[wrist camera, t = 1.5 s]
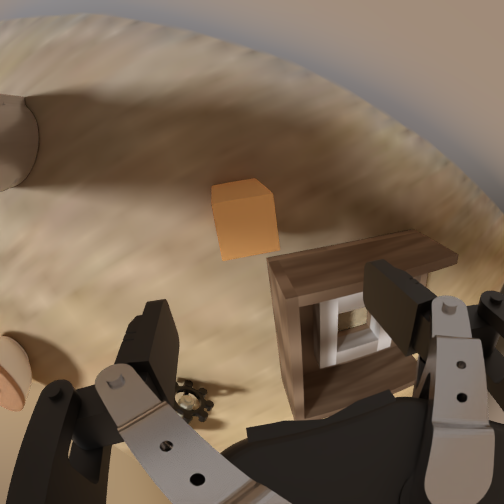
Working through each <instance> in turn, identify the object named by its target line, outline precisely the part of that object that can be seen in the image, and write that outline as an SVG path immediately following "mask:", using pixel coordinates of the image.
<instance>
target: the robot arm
mask: <svg viewBox="0 0 504 504" xmlns="http://www.w3.org/2000/svg"><path fill="white" fill-rule="evenodd" d="M38 144H39V134H38V126H37V123H36V120H35V117H34V115H33V114H32V112H31V111H30V110H29V109H28V108H27V107H26V105H25V100H24V97H21V96H13V95H5V94H0V192H1V191H5V190H7V189H9V188H11V187H14V186H16V185H18V184H20V183H21V182H22V181H23V180H24V179H25V178H26V177H27V175H28V174H29V172H30V171H31V169H32V167H33V164H34V162H35V159H36V155H37V150H38ZM363 301H364V305H365V307H366V309H367V310H368V312H369V313H370V314H371V315H372V316H373V317H374V319H375V320H376V321H377V322H378V323H379V325H380V326H381V327H382V328H383V329H384V331H385V332H386V333H387V334H388V335H389V337H390V338H391V339H392V340H393V342H394V343H395V344H396V345H397V346H398V348H399V349H400V350H401V351H402V353H403V354H404V355H405V356H406V357H407V356H410V355H412V354H415V353H418V354H419V357H418V360H417V366H416V375H415V382H414V389H413V396H412V397H396V398H395V397H394V396H393V394H392V393H391V391H390V390H389V389H388V390H385V391H383V392H380V393H377V394H375V395H372V396H369V397H366V398H363V399H360V400H358V401H356V402H354V403H353V404H351V405H349V406H348V407H346V408H344V409H342V410H341V411H339V412H337V413H335V414H333V415H332V416H330V417H328V418H325V419H317V420H295V421H281V422H276V423H271V424H266V425H260V426H254V427H248V428H246V430H247V437H248V438H246V439H244V440H241V441H239V442H237V443H235V444H233V445H232V446H230V447H228V448H227V449H225V450H224V451H223V452H221V453H219V452H218V451H216V450H215V449H214V448H213V447H212V446H211V445H210V444H209V443H208V442H206V441H205V440H204V439H203V438H202V437H201V436H200V435H199V434H198V433H197V432H196V431H195V430H194V429H193V428H192V427H191V426H190V425H189V424H187V423H186V422H185V421H184V420H183V419H182V418H181V416H180V415H179V414H178V413H177V412H176V411H175V410H174V409H173V407H174V395H175V384H176V373H177V364H178V355H179V336H178V332H177V329H176V326H175V323H174V320H173V317H172V314H171V311H170V308H169V305H168V302H167V300H166V299H162V300H156V301H149V302H147V303H146V305H145V308H144V311H143V314H142V315H139V316H136V317H135V318H134V319H133V320H132V321H131V322H130V323H129V325H128V328H127V331H126V334H125V336H124V338H123V342H122V344H121V347H120V349H119V352H118V355H117V358H116V361H115V363H114V365H111V366H109V367H107V368H105V369H104V370H102V371H101V372H100V373H99V374H98V376H97V378H96V380H95V385H92V386H88V387H84V388H81V389H77V390H75V388H74V387H73V386H72V384H71V383H70V382H69V381H67V380H56V381H54V382H52V383H50V384H48V385H47V386H46V387H45V388H44V389H43V390H42V392H41V394H40V396H39V399H38V401H37V404H36V406H35V409H34V411H33V414H32V416H31V419H30V421H29V424H28V427H27V430H26V433H25V435H24V438H23V441H22V444H21V447H20V450H19V454H18V457H17V460H16V464H15V467H14V471H13V475H12V478H11V483H10V487H9V491H8V496H7V500H6V504H106V495H107V482H108V472H109V463H110V455H111V447H112V445H113V444H117V443H121V442H124V441H125V443H126V444H127V446H128V447H129V448H130V450H131V451H132V453H133V454H134V456H135V457H136V459H137V460H138V461H139V463H140V464H141V465H142V467H143V468H144V469H145V471H146V472H147V473H148V475H149V476H150V477H151V479H152V480H153V481H154V482H155V484H156V485H157V486H158V487H159V488H160V490H161V491H162V492H163V493H164V495H165V496H166V497H167V498H168V499H169V500H170V501H171V502H172V504H504V424H501V423H497V422H494V421H490V420H488V397H487V390H488V391H489V392H490V394H491V395H492V396H493V398H494V399H495V400H496V402H497V403H498V404H499V406H500V407H501V408H502V410H503V411H504V357H503V355H502V354H501V353H500V352H499V351H498V350H497V349H496V348H495V346H496V343H497V341H498V339H499V336H500V335H501V336H502V337H503V338H504V295H503V294H502V293H499V292H496V291H486V292H484V293H482V295H481V297H480V301H479V305H471V306H466V305H465V303H464V302H463V301H462V300H460V299H458V298H456V297H453V296H439V297H437V296H436V295H435V294H434V293H432V292H431V291H430V290H429V289H427V288H426V287H425V286H424V285H422V284H421V283H419V281H417V280H416V279H415V278H414V279H413V277H412V276H411V275H410V274H408V273H407V272H406V271H403V270H401V269H398V268H396V267H394V266H392V265H391V264H390V263H388V262H387V261H386V260H384V259H379V260H374V261H370V262H366V264H365V266H364V283H363ZM71 439H72V440H73V443H72V447H71V452H70V456H69V458H68V451H69V446H70V443H71Z"/></svg>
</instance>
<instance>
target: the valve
mask: <svg viewBox="0 0 504 504" xmlns="http://www.w3.org/2000/svg"><path fill="white" fill-rule="evenodd" d="M192 386H193V383H192V382H191V381H188V380H186V381H185V382H184V385H183V386H179V385H178V383H177V382H176V384H175V395H176V394H177V393H179V392H184V394H183V396H182V397H181V399H179V401H178V403H177V402H176V401H175V395H174V407H173V409H174V410H175V411H176V412H177V413H178V414H179V415H180V416H181V418H182V419H183V420H184V421H185V422H186V423H187V424H189V423H190V422H191V420H192V418H193V417H192V416H198V417H199V421H201V422H204V421H206V419H207V417H208V413H207V412H205V411H204V408H207V411H211V409H212V408H213V406H214V403H213V402H212V401H209V400H208V401H206V400H205V399H204V398H205V396H206V394H207V390H206V389H204V388H200V389H199V390H195V389H193V388H192ZM189 393H191V394H193V395H194V396H195V397H196V398H197V399H198V400H199V403H200V407H199V408H198V409H196V410H192V409H193V407H194V399H193V398H192V397H191V396H189V395H188V394H189Z"/></svg>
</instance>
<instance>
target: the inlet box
mask: <svg viewBox="0 0 504 504" xmlns="http://www.w3.org/2000/svg"><path fill="white" fill-rule="evenodd" d="M379 259H384V260H386V261H387V262H388V263H390V264H391V265H392V266H394V267H396V268H398V269H401V270H403V271H406V272H407V273H408V274H410V275H411V276H412V277H413V279H414V278H415V279H416V280H417V281H419V283H421V284H422V285H424V286H425V287H426V281H427V275H428V273H430V272H433V271H436V270H439V269H442V268H445V267H448V266H451V265H454V264H457V260H458V254H457V253H455V252H453V251H452V250H450V249H448V248H446V247H445V246H443V245H441V244H440V243H438V242H436V241H434V240H432V239H431V238H429V237H427V236H425V235H424V234H422V233H420V232H418V231H416V230H414V229H412V230H407V231H402V232H397V233H392V234H387V235H382V236H377V237H372V238H367V239H362V240H357V241H352V242H347V243H342V244H337V245H331V246H326V247H321V248H316V249H311V250H306V251H300V252H295V253H290V254H285V255H280V256H274V257H269V258H267V266H268V273H269V281H270V288H271V296H272V304H273V311H274V319H275V327H276V335H277V343H278V351H279V359H280V367H281V375H282V381H283V384H284V388H285V391H286V394H287V397H288V401H289V404H290V407H291V411H292V414H293V417H294V420H317V419H323V418H326V417H330V416H332V415H333V414H335V413H337V412H339V411H341V410H342V409H344V408H346V407H348V406H349V405H351V404H353V403H354V402H356V401H358V400H360V399H363V398H366V397H369V396H372V395H375V394H377V393H380V392H383V391H385V390H388V389H389V390H390V391H391V393H392V394H394V393H396V392H399V391H401V390H403V389H406V388H408V387H410V386H412V385H414V382H415V375H416V366H417V361H416V359H415V358H414V357H413V356H412V355H410V356H407V357H406V356H405V355H404V354H403V353H402V351H401V350H400V349H399V348H398V346H397V345H396V344H395V343H394V342H393V340H392V339H391V338H390V337H389V335H388V334H387V333H386V332H385V331H384V329H383V328H382V327H381V326H380V325H379V323H378V322H377V321H376V320H375V319H374V317H373V316H372V315H371V314H370V313H369V312H367V323H366V324H363V325H360V326H357V327H353V328H350V329H346V330H343V331H339V332H338V314H340V313H344V312H348V311H352V310H355V309H359V308H363V307H365V305H364V301H363V283H364V266H365V264H366V262H370V261H374V260H379Z"/></svg>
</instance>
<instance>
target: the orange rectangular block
mask: <svg viewBox="0 0 504 504" xmlns="http://www.w3.org/2000/svg"><path fill="white" fill-rule="evenodd" d="M211 204H212V210H213V215H214V220H215V225H216V231H217V236H218V241H219V246H220V251H221V256H222V261H225V260H231V259H236V258H241V257H247V256H252V255H257V254H263V253H268V252H273V251H279V250H280V246H279V237H278V229H277V221H276V212H275V205H274V197H273V193H272V192H271V191H270V190H269V189H267V188H266V187H265V186H264V185H263V184H262V183H260V182H259V181H258V180H257V179H256V178H252V179H246V180H240V181H234V182H229V183H223V184H218V185H212V196H211Z"/></svg>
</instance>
